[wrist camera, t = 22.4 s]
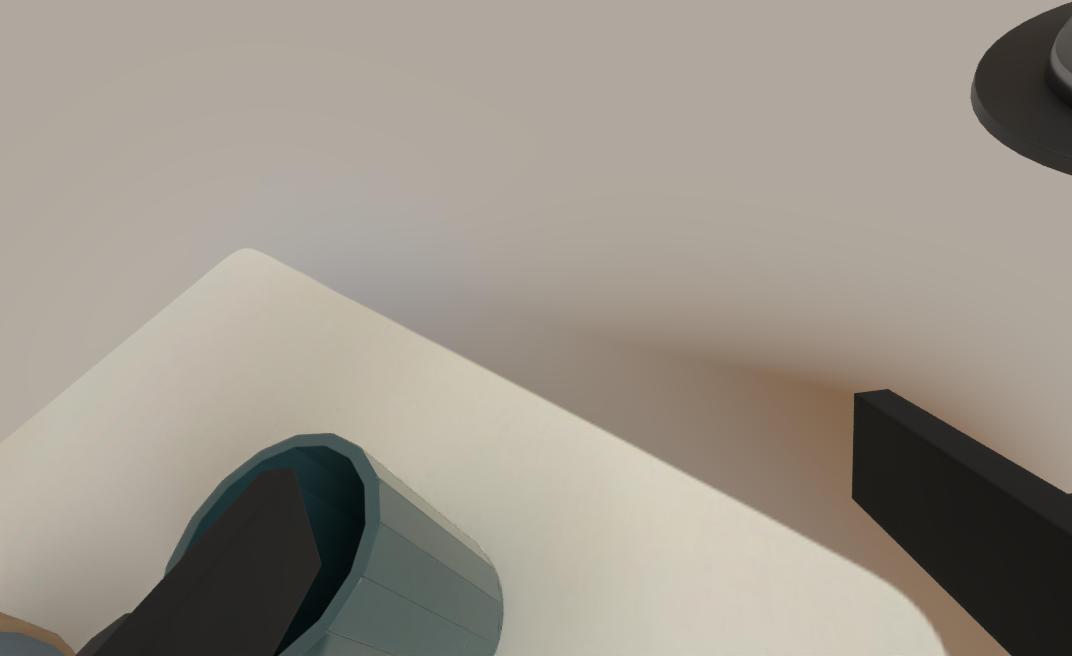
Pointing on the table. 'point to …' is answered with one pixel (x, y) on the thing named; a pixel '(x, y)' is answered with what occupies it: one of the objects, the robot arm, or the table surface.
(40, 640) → the alarm clock
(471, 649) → the jar
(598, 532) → the table surface
